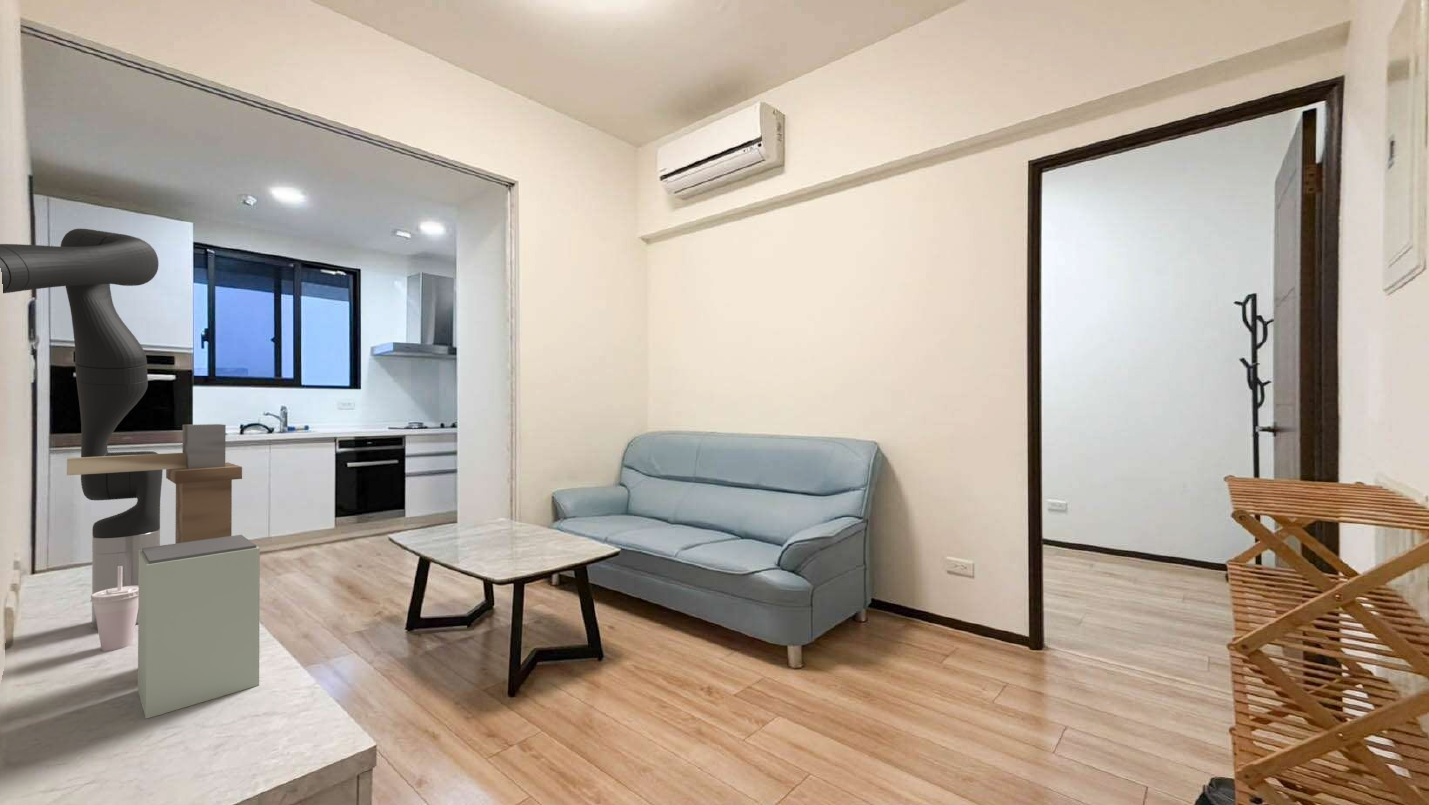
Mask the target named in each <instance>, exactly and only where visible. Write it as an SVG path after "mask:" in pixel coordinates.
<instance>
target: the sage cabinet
mask: <svg viewBox="0 0 1429 805" xmlns="http://www.w3.org/2000/svg"><path fill="white" fill-rule="evenodd" d="M260 550H261V548H260V547H259V546H258V545H257V544H255V543H254V541H251V540H250V539H248V538H247V537H246V536H244V535H242V534H236V535H231V536H228V537H221V538H213V539H206V540H198V541H191V542H184V543H176V544H175V543H169V544H163V545H161V544H160V546H154V547H147V548H142V550H140V551H139V589H138V623H137V627H138V628H137V629H138V630H137V631H138V632H137V633H138V634H137V648H138V649H137V692H138V696H139V698H140V703H141V705H142V706H141V707H142V710H143V714H144V718H145V719H150V718H154V717H157V716H159V715H160V716H161V715H163V714H167V713H170V712H171V713H172V712H173V711H177V710H180V709H183V708H186V707H190V706H194V705H198V704H201V703H203V702H207V701H211V700H213V699H217V698H221V697H224V696H227V695H231V694H233V693H237V692H240V691H244V690H246V689H247V690H248V689H251V688H254V687H258V686H259V685H260V614H261V613H260V611H261V610H260V600H261V599H260V592H261V591H260V587H261V586H260V585H261V583H260V578H261V577H260V570H261V569H260V568H261V565H260V564H261V563H260V562H261V561H260V560H261V556H260V554H261V551H260Z"/></svg>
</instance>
